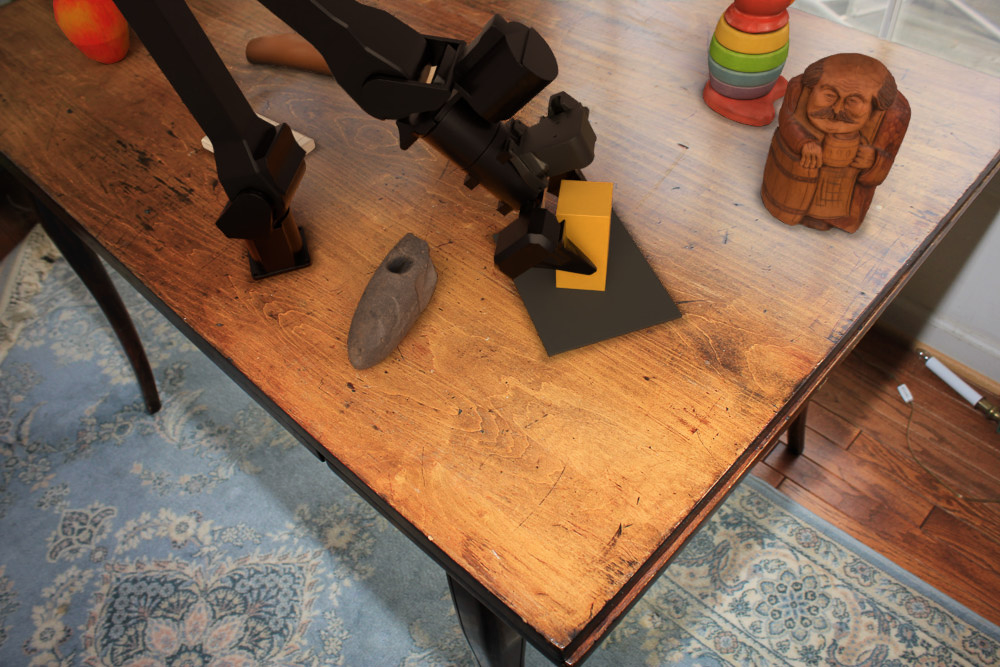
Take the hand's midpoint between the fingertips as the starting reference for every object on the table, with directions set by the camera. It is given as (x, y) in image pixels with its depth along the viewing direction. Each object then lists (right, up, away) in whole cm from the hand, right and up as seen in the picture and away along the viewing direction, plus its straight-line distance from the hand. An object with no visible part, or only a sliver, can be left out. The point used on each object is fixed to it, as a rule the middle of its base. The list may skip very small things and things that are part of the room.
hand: (597, 241), depth 74 cm
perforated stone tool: (-20, -9, +1) cm, 22 cm away
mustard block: (-1, -3, +4) cm, 5 cm away
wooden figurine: (+25, +4, +8) cm, 26 cm away
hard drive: (-41, +15, +22) cm, 48 cm away
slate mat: (-1, -3, +4) cm, 5 cm away
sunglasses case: (-37, +30, +35) cm, 59 cm away
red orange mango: (-68, +32, +39) cm, 85 cm away
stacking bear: (+22, +21, +23) cm, 38 cm away
